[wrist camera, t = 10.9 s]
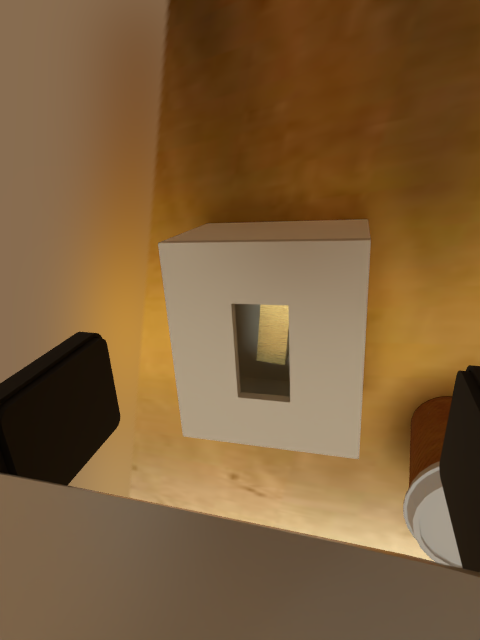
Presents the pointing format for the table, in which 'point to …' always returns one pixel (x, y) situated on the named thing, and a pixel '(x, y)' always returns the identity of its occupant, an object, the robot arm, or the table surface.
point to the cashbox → (243, 326)
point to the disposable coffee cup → (430, 484)
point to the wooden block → (273, 334)
